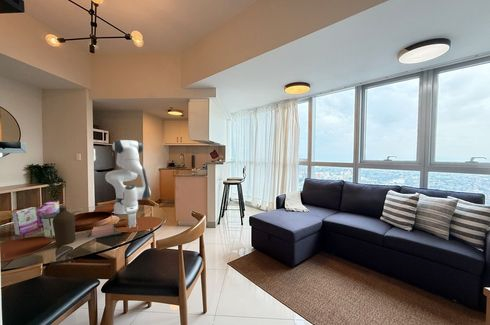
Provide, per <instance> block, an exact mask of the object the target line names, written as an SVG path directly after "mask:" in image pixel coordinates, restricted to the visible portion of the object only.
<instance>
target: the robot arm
mask: <svg viewBox="0 0 490 325" xmlns="http://www.w3.org/2000/svg"><path fill="white" fill-rule="evenodd" d="M112 150H113V151H114V152H115V153H117V154H116V165H117V166H118V167H119V168H122V169H117V170H116V169H115V170H112V171H108V172H107V173H106V174H105V176H104V177H105V181H106V182H107V183H108V184H111V185H112V186H113V187H114V190H115V196H116V197H115V203H114V204H113V209H114V210H113V211H112V213H114V214H113V215H115V214H116V215H127V218H128V221H129V224H131V227H134V223H135V221H136V222H137V212H138V210H139V200H148V199H150V197H151V195H152V191H151V188H150V186H149V181H148V178H147V173H146V172H147V171H146V169H145V167H144V166H142V165H141V163H140V155H139V154H141V153H142V152H143V150H144V143H143V142H142V141H140V140H132V139H115V140H114V141H113V143H112ZM138 175H139V176H140V178H141V183H142V186H140V187H139V186H138V187H137V186H136V185H135V184H130V185H127V184H126V185H124V182H131V181H133V180H136V179H137V178H138Z"/></svg>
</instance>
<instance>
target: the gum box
mask: <svg viewBox="0 0 490 325" xmlns="http://www.w3.org/2000/svg"><path fill="white" fill-rule="evenodd" d="M59 206H60V200H52V201H46V202H45V203H43V204H42V205H41V206H39V207H37V208H36V212H37V219H38V226H40V227H42V226H41V225H43V219H42V216H44V215H46V214H50V213H55V212H59Z"/></svg>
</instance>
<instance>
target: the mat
mask: <svg viewBox="0 0 490 325" xmlns="http://www.w3.org/2000/svg"><path fill="white" fill-rule="evenodd" d="M118 234H122V233H121V232H118V231H115V230H114V233H111V234H105V235H100V236H95V237H92V232H91V233H90V236H89V240H92V239H96V238H101V237H107V236H112V235H118Z"/></svg>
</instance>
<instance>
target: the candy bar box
mask: <svg viewBox="0 0 490 325" xmlns="http://www.w3.org/2000/svg"><path fill="white" fill-rule="evenodd" d="M36 209H37V207H32V206H31V207H27V208H24V209H20V210H16V211H12V212H11V215H12V221H13V226H14V228H13V230H14V233H15V236H22V235H25V234H28V233H30V232H33V231H36V230H39V229H40V227H39V226H38V219H37V212H36Z"/></svg>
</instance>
